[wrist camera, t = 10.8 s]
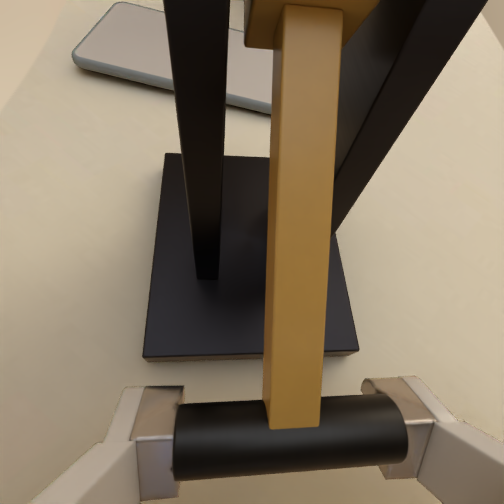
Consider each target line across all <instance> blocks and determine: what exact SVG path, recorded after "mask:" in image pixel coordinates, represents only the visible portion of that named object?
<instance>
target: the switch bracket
mask: <svg viewBox="0 0 504 504" xmlns="http://www.w3.org/2000/svg"><path fill="white" fill-rule="evenodd" d="M487 1H488V0H380V2H379V3H378V4H377V5H376V7H375V8H374V9H373V11H372V12H371V13H370V14H369V16H368V17H367V18H366V19H365V21H364V22H363V23H362V24H361V26H360V27H359V28H358V29H357V31H356V32H355V33H354V34H353V36H352V37H351V38H350V40H349V41H348V42H347V43H346V45H345V46H344V47H343V48H342V50H341V64H340V81H339V98H338V115H337V131H336V148H335V165H334V182H333V199H332V216H331V233H330V250H329V267H328V284H327V301H326V318H325V335H324V352H323V356H349V355H351V354H353V353H355V352H358V351H359V345H358V340H357V335H356V330H355V325H354V321H353V316H352V311H351V306H350V301H349V296H348V292H347V287H346V282H345V277H344V272H343V267H342V263H341V258H340V253H339V248H338V243H337V238H336V234H335V232H336V230H337V229H338V227H339V226H340V224H341V223H342V221H343V220H344V218H345V217H346V215H347V214H348V212H349V211H350V209H351V208H352V206H353V205H354V203H355V202H356V200H357V199H358V197H359V196H360V194H361V193H362V191H363V189H364V188H365V186H366V185H367V183H368V182H369V180H370V179H371V177H372V176H373V174H374V173H375V171H376V170H377V168H378V167H379V165H380V164H381V162H382V161H383V159H384V158H385V156H386V155H387V153H388V152H389V150H390V148H391V147H392V145H393V144H394V142H395V141H396V139H397V138H398V136H399V135H400V133H401V132H402V130H403V129H404V127H405V126H406V124H407V123H408V121H409V120H410V118H411V117H412V115H413V114H414V112H415V111H416V109H417V108H418V106H419V104H420V103H421V101H422V100H423V98H424V97H425V95H426V94H427V92H428V91H429V89H430V88H431V86H432V85H433V83H434V82H435V80H436V79H437V77H438V76H439V74H440V73H441V71H442V70H443V68H444V67H445V65H446V63H447V62H448V60H449V59H450V57H451V56H452V54H453V53H454V51H455V50H456V48H457V47H458V45H459V44H460V42H461V41H462V39H463V38H464V36H465V35H466V33H467V32H468V30H469V29H470V27H471V26H472V24H473V22H474V21H475V19H476V18H477V16H478V15H479V13H480V12H481V10H482V9H483V7H484V6H485V4H486V3H487ZM163 4H164V12H165V20H166V29H167V37H168V45H169V54H170V62H171V70H172V79H173V87H174V95H175V103H176V112H177V120H178V128H179V137H180V145H181V153H182V154H179V153H165V159H164V168H163V176H162V185H161V194H160V203H159V212H158V221H157V229H156V238H155V247H154V256H153V265H152V274H151V283H150V291H149V300H148V309H147V318H146V327H145V336H144V345H143V353H142V357H143V358H144V359H145V360H146V361H147V362H175V361H205V360H234V359H263V358H264V326H265V294H266V262H267V230H268V198H269V166H270V158H267V157H245V156H224V138H225V113H226V88H227V63H228V38H229V13H230V0H163Z"/></svg>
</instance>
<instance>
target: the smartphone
mask: <svg viewBox="0 0 504 504" xmlns="http://www.w3.org/2000/svg"><path fill="white" fill-rule="evenodd" d="M72 59H73V61H74V63H75V64H76V65H77V66H78V67H80V68H83V69H87V70H91V71H95V72H99V73H104V74H108V75H112V76H116V77H120V78H124V79H128V80H132V81H136V82H140V83H144V84H149V85H153V86H157V87H161V88H165V89H169V90H173V91H174V87H173V79H172V70H171V62H170V54H169V45H168V37H167V29H166V20H165V12H163V11H159V10H155V9H151V8H147V7H143V6H139V5H135V4H131V3H127V2H117V3H115V4H113V6H112V7H111V8H110V9H109V10H108V11H107V12H106V13H105V15H104V16H103V17H102V18H101V19H100V20H99V21H98V23H97V24H96V25H95V26H94V27H93V28H92V29H91V31H90V32H89V33H88V34H87V35H86V36H85V37H84V38H83V40H82V41H81V42H80V43H79V44H78V45H77V46H76V48H75V49H74V50H73V51H72ZM272 71H273V50H267V49H256V48H247V47H245V45H244V32H243V31H239V30H235V29H231V28H229V38H228V63H227V88H226V104H230V105H234V106H238V107H243V108H247V109H251V110H255V111H259V112H263V113H267V114H271V103H272Z"/></svg>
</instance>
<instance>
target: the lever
mask: <svg viewBox="0 0 504 504" xmlns="http://www.w3.org/2000/svg"><path fill="white" fill-rule="evenodd" d="M379 2H380V0H245V1H244V45H245V47H247V48H256V49H267V50H273V71H272V103H271V134H270V166H269V198H268V230H267V262H266V294H265V326H264V358H263V390H262V400H248V401H228V402H208V403H188V404H180V405H178V408H177V411H176V416H175V423H174V433H173V447H172V474H173V478H174V481H189V480H201V479H214V478H226V477H239V476H251V475H264V474H276V473H289V472H301V471H314V470H326V469H339V468H351V467H364V466H376V465H389V464H400V463H402V462H403V461H404V460H405V459H406V457H407V455H408V449H409V440H408V433H407V428H406V424H405V421H404V418H403V416H402V413H401V411H400V409H399V408H398V406H397V404H396V403H395V402H394V400H393V399H392V398H391V397H389V396H387V395H385V394H367V395H347V396H327V397H321V386H322V369H323V352H324V335H325V318H326V301H327V284H328V267H329V250H330V233H331V216H332V199H333V182H334V165H335V148H336V131H337V115H338V98H339V81H340V64H341V50H342V48H343V47H344V46H345V45H346V43H347V42H348V41H349V40H350V38H351V37H352V36H353V34H354V33H355V32H356V31H357V29H358V28H359V27H360V26H361V24H362V23H363V22H364V21H365V19H366V18H367V17H368V16H369V14H370V13H371V12H372V11H373V9H374V8H375V7H376V5H377V4H378V3H379Z"/></svg>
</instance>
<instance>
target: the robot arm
mask: <svg viewBox="0 0 504 504" xmlns="http://www.w3.org/2000/svg"><path fill="white" fill-rule="evenodd" d="M361 392H362V393H363V395H367V394H385V395H387V396H389V397H391V398H392V399H393V400H394V402H395V403H396V404H397V406H398V408H399V409H400V411H401V413H402V416H403V418H404V421H405V424H406V428H407V433H408V440H409V449H408V455H407V457H406V459H405V460H404V461H403V462H402V463H400V464H389V465H378V466H379V468H380V470H381V472H382V474H383V476H384V478H385V480H388V479H408V478H417V480H418V481H419V482H420V483H421V484H422V485H423V486H424V487H425V488H426V489H427V490H429V491H430V492H431V493H432V494H433V495H434V496H435V497H436V498H437V499H439V500H440V501H441V502H442V503H443V504H504V443H502V442H501V441H499V440H497V439H495V438H493V437H492V436H490V435H488V434H486V433H485V432H483V431H481V430H479V429H477V428H476V427H474V426H472V425H470V424H468V423H467V422H465V421H458V420H457V419H456V418H455V417H454V416H453V414H452V413H451V412H450V411H449V410H448V409H447V408H446V407H445V406H444V405H443V403H442V402H441V401H440V400H439V399H438V398H437V397H436V396H435V395H434V394H433V392H432V391H431V390H430V389H429V388H428V387H427V386H426V385H425V384H424V383H423V381H422V380H421V379H420V378H418V377H416V376H403V377H389V378H368V379H364V381H363V382H362V385H361ZM184 402H185V387H184V386H146V387H125V388H124V390H123V391H122V393H121V396H120V398H119V401H118V403H117V406H116V409H115V411H114V414H113V417H112V419H111V422H110V424H109V427H108V430H107V432H106V435H105V437H104V440H103V443H95V444H94V445H93V446H92V447H91V448H90V449H89V450H87V451H86V452H85V453H84V454H83V455H82V456H81V457H80V458H78V459H77V460H76V461H75V462H74V463H73V464H72V465H71V466H69V467H68V468H67V469H66V470H65V471H64V472H63V473H62V474H60V475H59V476H58V477H57V478H56V479H55V480H54V481H52V482H51V483H50V484H49V485H48V486H47V487H46V488H45V489H43V490H42V491H41V492H40V493H39V494H38V495H37V496H36V497H34V498H33V499H32V500H31V501H30V502H29V503H28V504H140V501H148V500H157V499H165V498H174V497H178V496H179V487H180V481H174V478H173V474H172V447H173V433H174V423H175V416H176V411H177V408H178V405H180V404H184Z"/></svg>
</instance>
